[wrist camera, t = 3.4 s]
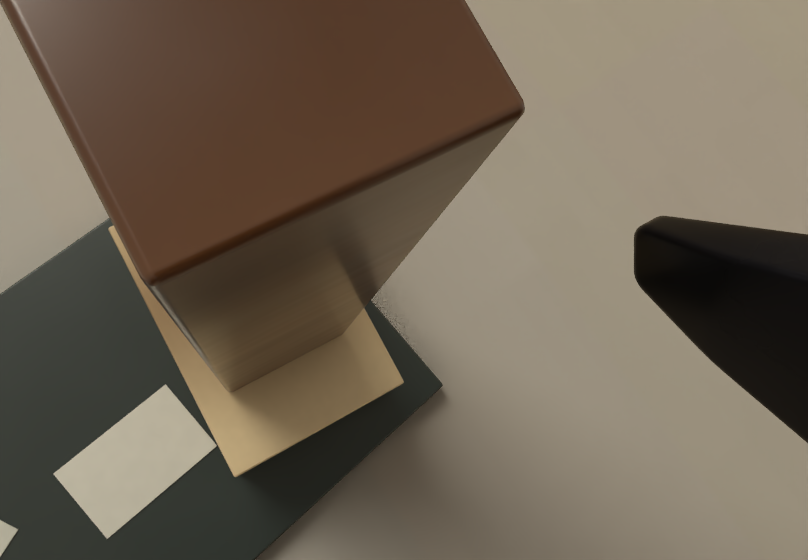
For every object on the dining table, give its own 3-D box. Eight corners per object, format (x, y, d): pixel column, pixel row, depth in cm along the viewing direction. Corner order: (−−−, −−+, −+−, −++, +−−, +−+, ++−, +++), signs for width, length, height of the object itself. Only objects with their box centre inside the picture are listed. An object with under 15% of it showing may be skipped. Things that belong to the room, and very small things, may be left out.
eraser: (390, 387, 19) (725, 267, 5) (237, 473, 17) (161, 603, 4) (278, 180, 19) (319, -406, 6) (123, 249, 18) (-276, -290, 5)
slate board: (229, 140, 20) (228, 133, 19) (440, 386, 19) (444, 385, 19) (-584, 707, 14) (-610, 715, 13) (-302, 1069, 14) (-320, 1089, 13)
